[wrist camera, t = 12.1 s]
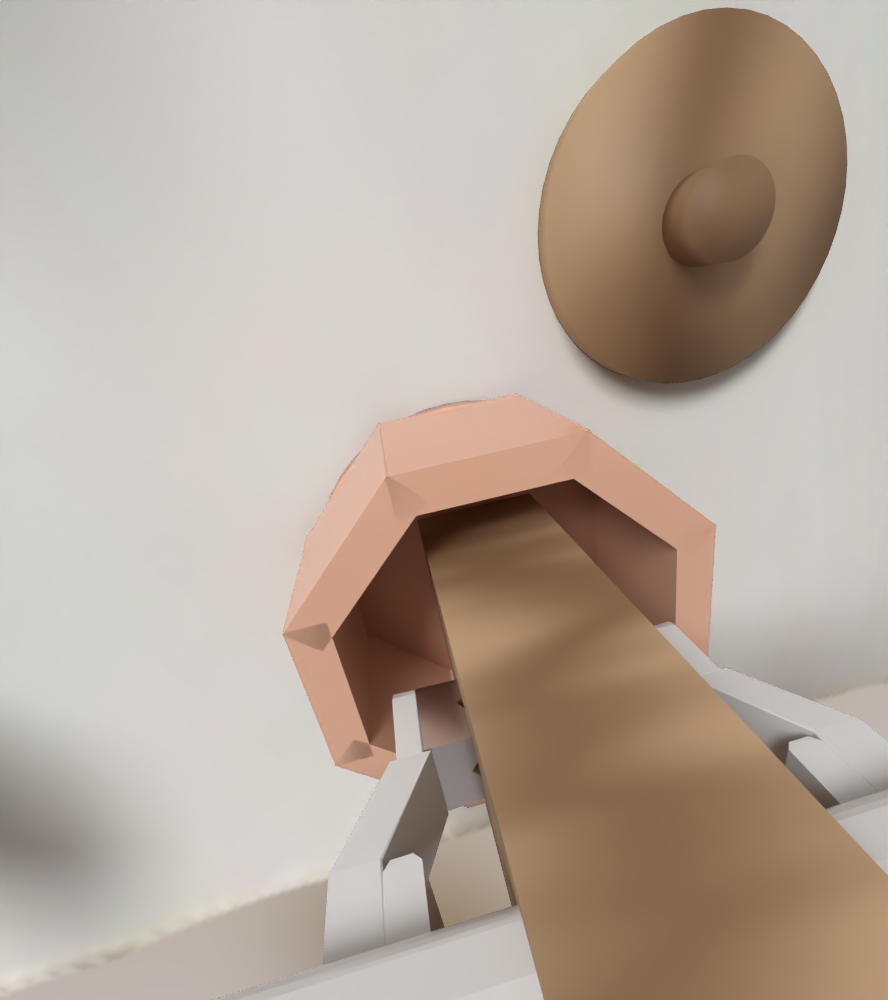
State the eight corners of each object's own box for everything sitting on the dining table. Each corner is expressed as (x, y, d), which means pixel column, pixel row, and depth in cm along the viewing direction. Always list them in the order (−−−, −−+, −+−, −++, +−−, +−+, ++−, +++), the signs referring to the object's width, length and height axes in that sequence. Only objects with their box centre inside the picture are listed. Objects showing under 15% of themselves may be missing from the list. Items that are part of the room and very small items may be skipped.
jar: (603, 369, 15) (725, 396, 10) (614, 628, 19) (704, 739, 14) (277, 440, 14) (229, 510, 9) (363, 695, 18) (363, 839, 13)
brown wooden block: (529, 493, 14) (1141, 1146, 3) (544, 623, 16) (947, 1306, 5) (417, 520, 14) (640, 1351, 3) (446, 649, 16) (645, 1433, 5)
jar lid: (826, 7, 13) (924, -58, 10) (795, 344, 16) (863, 349, 14) (512, 68, 12) (546, 12, 10) (552, 406, 16) (583, 420, 13)
